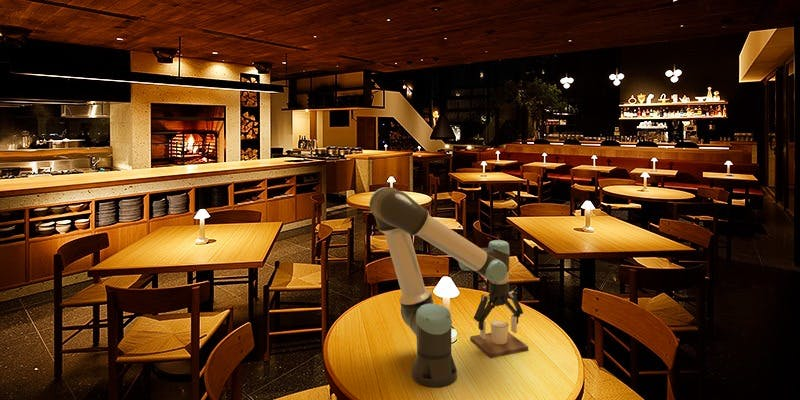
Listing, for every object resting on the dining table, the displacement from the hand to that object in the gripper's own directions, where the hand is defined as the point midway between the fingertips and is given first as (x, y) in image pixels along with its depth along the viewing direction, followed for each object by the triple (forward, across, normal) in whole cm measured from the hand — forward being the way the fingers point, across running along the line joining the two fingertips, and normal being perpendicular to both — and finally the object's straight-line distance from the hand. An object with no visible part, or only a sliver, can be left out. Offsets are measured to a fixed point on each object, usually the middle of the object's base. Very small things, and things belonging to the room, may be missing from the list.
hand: (498, 334), depth 180 cm
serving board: (+4, 0, 0) cm, 4 cm away
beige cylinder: (+3, 0, 0) cm, 3 cm away
